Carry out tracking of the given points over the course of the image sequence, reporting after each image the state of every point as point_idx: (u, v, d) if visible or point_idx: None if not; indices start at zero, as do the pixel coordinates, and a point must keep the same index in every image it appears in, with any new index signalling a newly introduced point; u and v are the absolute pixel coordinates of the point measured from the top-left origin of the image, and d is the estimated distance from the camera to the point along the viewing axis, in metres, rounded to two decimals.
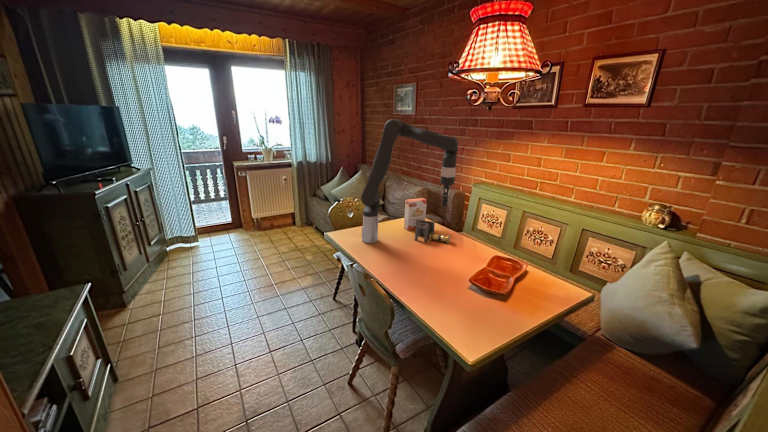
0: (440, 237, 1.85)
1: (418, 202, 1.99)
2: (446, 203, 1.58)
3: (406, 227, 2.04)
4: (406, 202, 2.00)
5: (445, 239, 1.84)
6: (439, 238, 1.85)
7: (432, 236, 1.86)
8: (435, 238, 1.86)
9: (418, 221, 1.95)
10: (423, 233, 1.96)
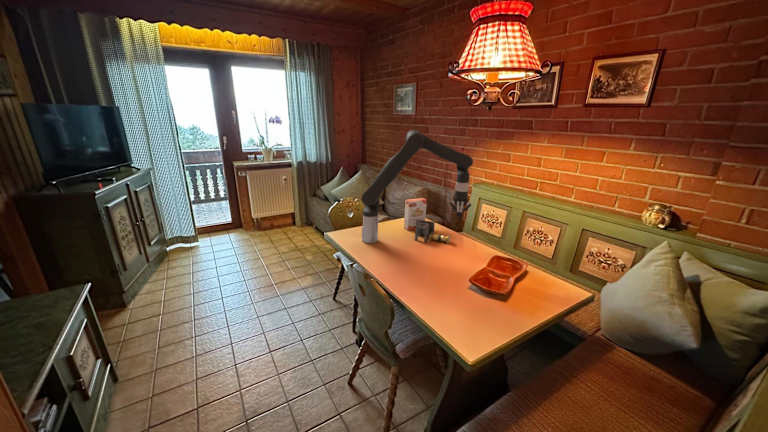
0: (440, 237, 1.85)
1: (418, 202, 1.99)
2: None
3: (406, 227, 2.04)
4: (406, 202, 2.00)
5: (445, 239, 1.84)
6: (439, 238, 1.85)
7: (432, 236, 1.86)
8: (435, 238, 1.86)
9: (418, 221, 1.95)
10: (423, 233, 1.96)
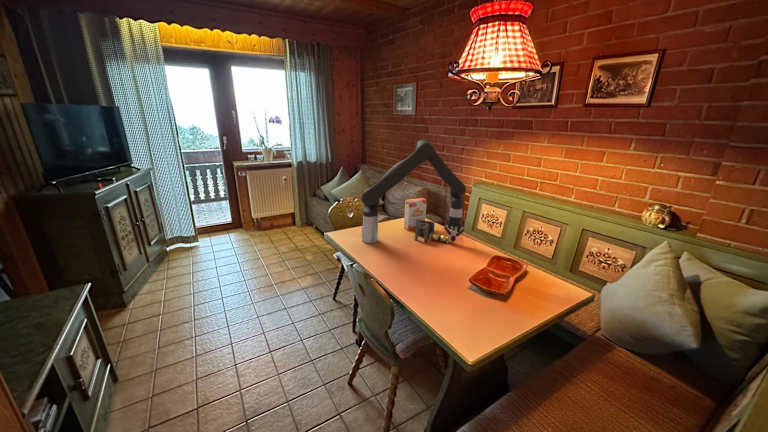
0: (440, 237, 1.85)
1: (418, 202, 2.00)
2: None
3: (406, 227, 2.04)
4: (406, 202, 2.00)
5: (445, 239, 1.84)
6: (439, 238, 1.85)
7: (432, 236, 1.86)
8: (435, 238, 1.86)
9: (418, 221, 1.95)
10: (423, 233, 1.96)
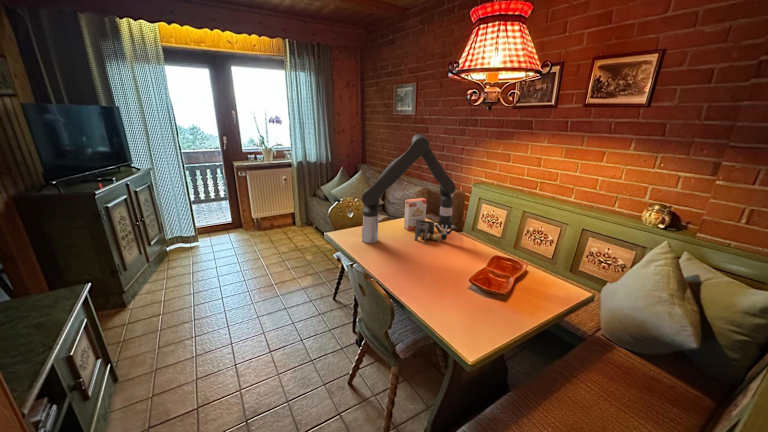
0: (431, 235, 1.87)
1: (418, 202, 1.99)
2: None
3: (406, 227, 2.04)
4: (406, 202, 2.00)
5: (436, 237, 1.86)
6: (430, 236, 1.87)
7: (423, 234, 1.88)
8: None
9: (418, 221, 1.95)
10: None
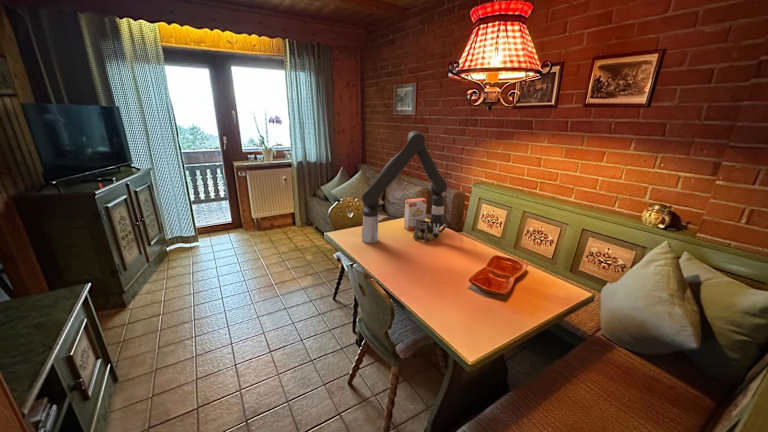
0: (423, 234, 1.89)
1: (418, 202, 2.00)
2: None
3: (406, 227, 2.04)
4: (406, 202, 2.00)
5: (428, 236, 1.87)
6: (422, 235, 1.89)
7: None
8: (418, 235, 1.90)
9: (418, 221, 1.95)
10: None
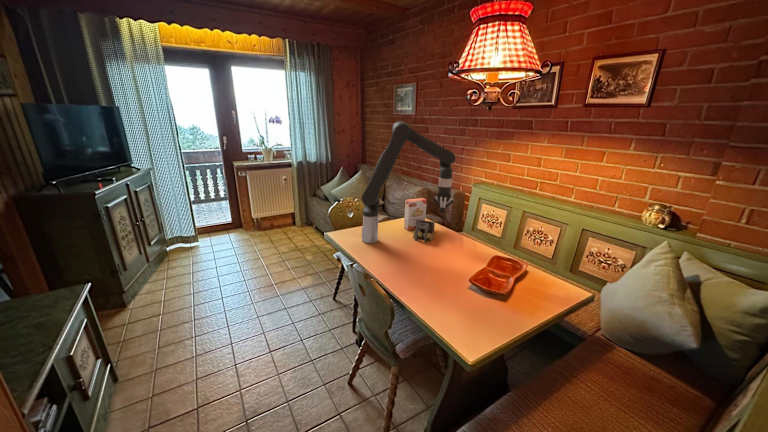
0: (423, 234, 1.89)
1: (418, 202, 2.00)
2: None
3: (406, 227, 2.04)
4: (406, 202, 2.00)
5: (428, 236, 1.87)
6: (422, 235, 1.89)
7: None
8: (418, 235, 1.90)
9: (418, 221, 1.95)
10: None
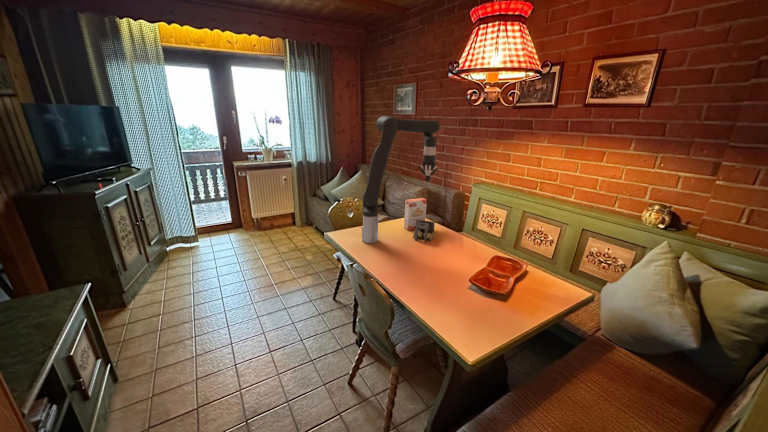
0: (423, 234, 1.89)
1: (418, 202, 1.99)
2: None
3: (406, 227, 2.04)
4: (406, 202, 2.00)
5: (428, 236, 1.87)
6: (422, 235, 1.89)
7: None
8: (418, 235, 1.90)
9: (418, 221, 1.95)
10: None
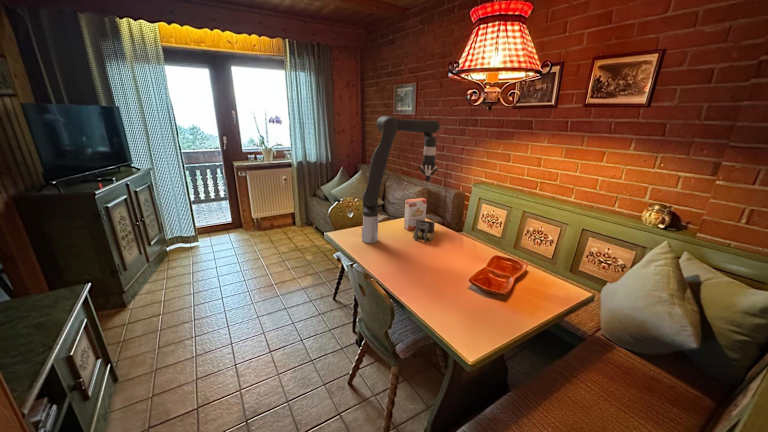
0: (423, 234, 1.89)
1: (418, 202, 1.99)
2: None
3: (406, 227, 2.04)
4: (406, 202, 2.00)
5: (428, 236, 1.87)
6: (422, 235, 1.89)
7: None
8: (418, 235, 1.90)
9: (418, 221, 1.95)
10: None
